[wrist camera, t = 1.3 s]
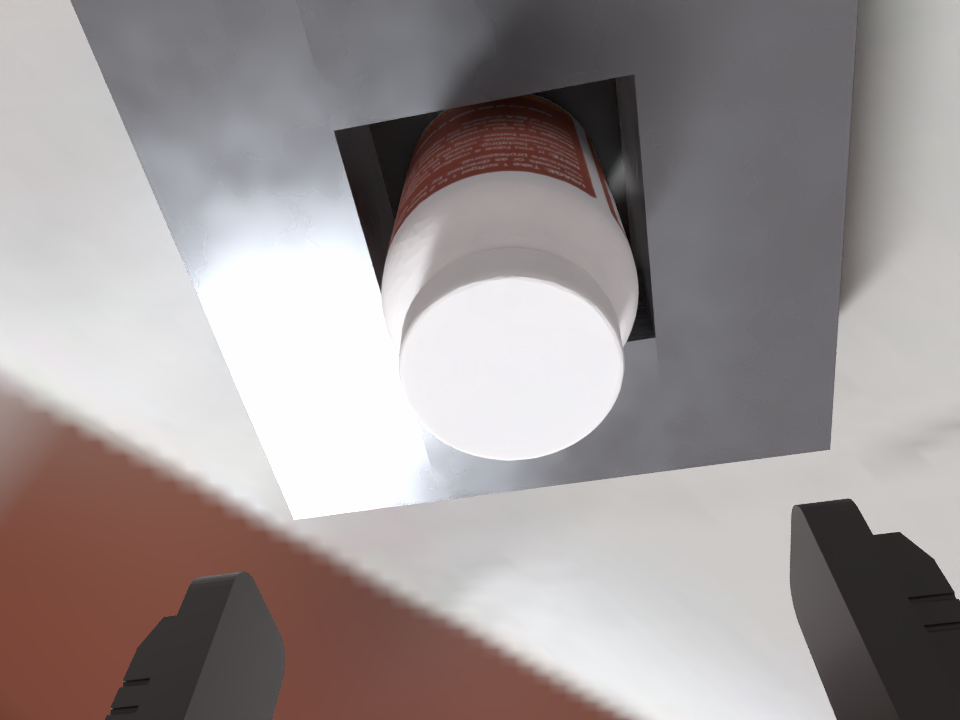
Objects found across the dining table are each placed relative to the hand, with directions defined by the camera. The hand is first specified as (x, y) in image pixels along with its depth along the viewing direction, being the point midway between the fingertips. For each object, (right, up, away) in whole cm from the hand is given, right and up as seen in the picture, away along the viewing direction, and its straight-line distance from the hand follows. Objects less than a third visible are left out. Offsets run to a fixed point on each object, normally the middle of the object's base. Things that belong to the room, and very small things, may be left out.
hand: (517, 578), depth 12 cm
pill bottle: (0, +9, +14) cm, 17 cm away
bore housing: (0, +9, +14) cm, 16 cm away
